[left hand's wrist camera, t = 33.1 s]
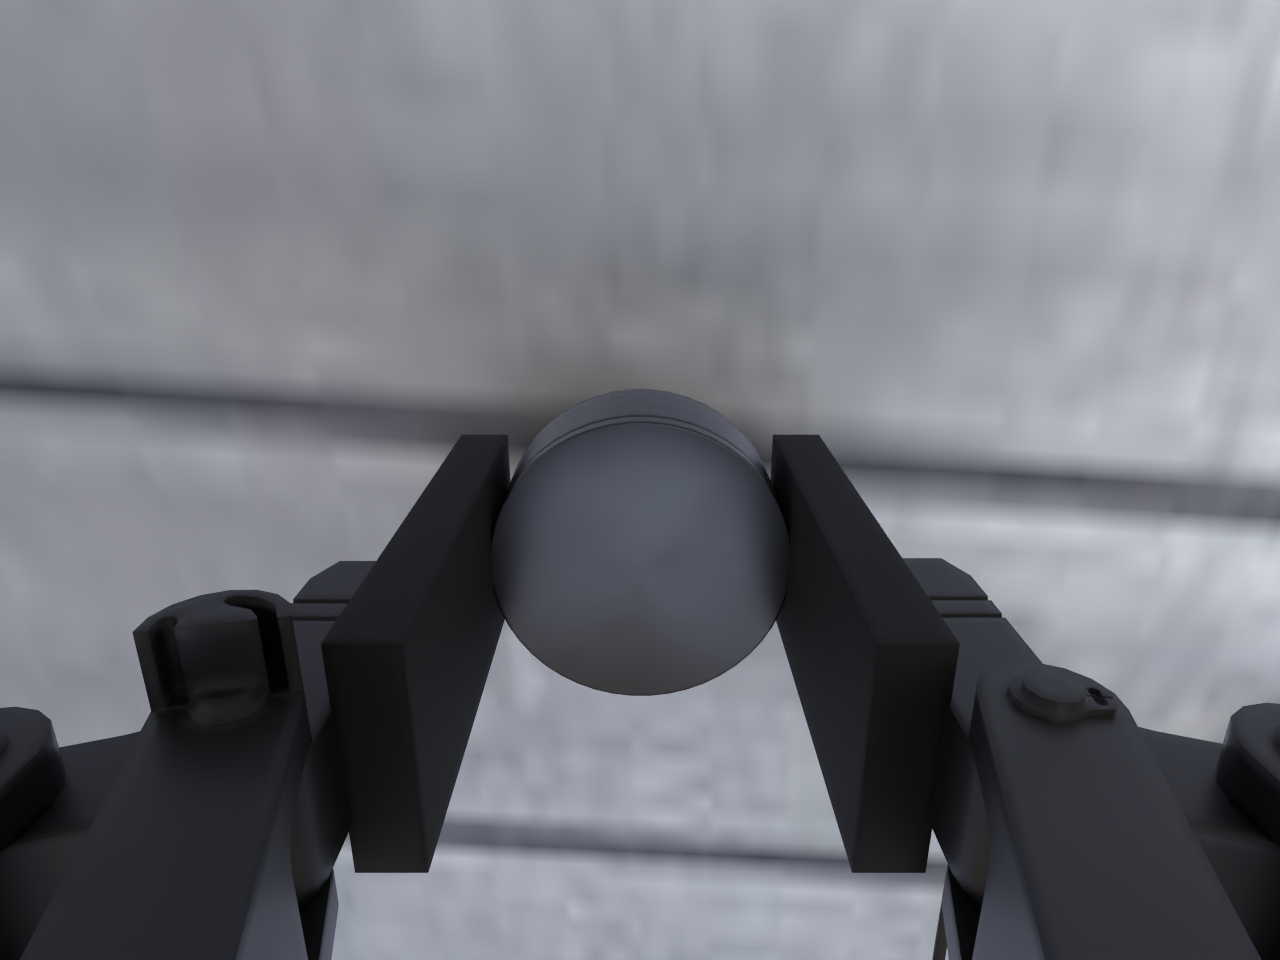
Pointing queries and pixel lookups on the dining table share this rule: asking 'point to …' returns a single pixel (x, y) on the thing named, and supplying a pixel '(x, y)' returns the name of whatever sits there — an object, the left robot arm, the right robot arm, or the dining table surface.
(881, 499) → the dining table surface
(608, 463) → the cap
